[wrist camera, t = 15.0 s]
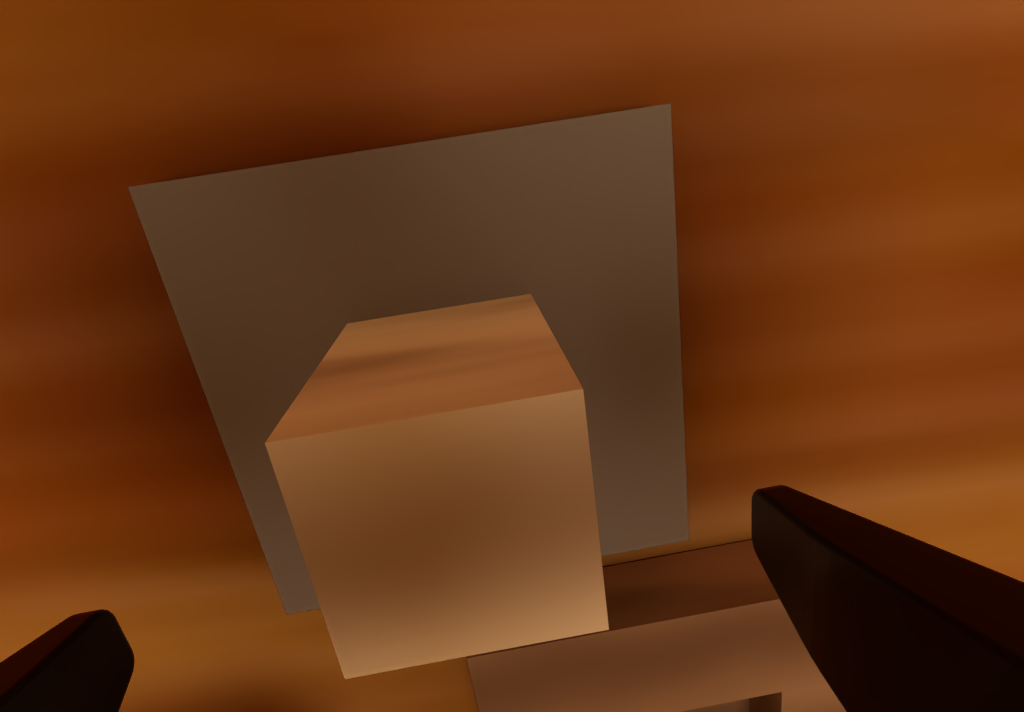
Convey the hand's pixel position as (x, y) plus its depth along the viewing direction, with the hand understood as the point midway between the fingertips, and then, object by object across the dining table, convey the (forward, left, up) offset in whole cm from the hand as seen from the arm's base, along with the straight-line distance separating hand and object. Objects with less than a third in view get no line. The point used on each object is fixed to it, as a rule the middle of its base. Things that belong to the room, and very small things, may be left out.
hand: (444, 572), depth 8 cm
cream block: (0, 0, -7) cm, 7 cm away
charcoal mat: (0, 0, -8) cm, 8 cm away
